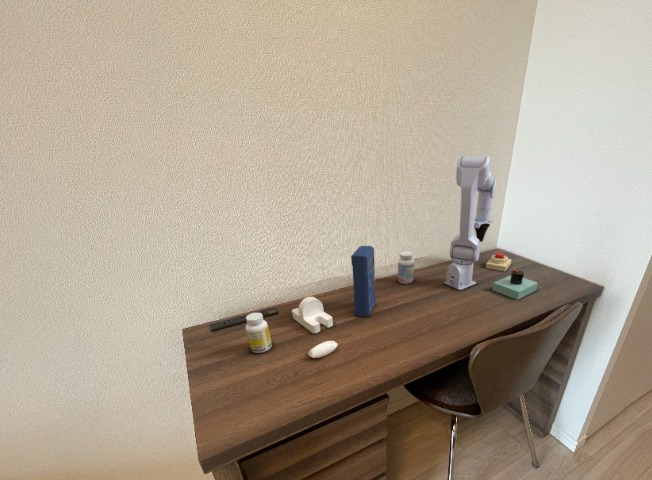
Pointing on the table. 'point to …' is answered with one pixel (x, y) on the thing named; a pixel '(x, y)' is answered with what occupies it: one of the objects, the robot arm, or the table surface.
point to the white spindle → (323, 349)
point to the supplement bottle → (258, 333)
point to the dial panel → (515, 287)
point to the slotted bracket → (312, 315)
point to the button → (499, 255)
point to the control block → (498, 263)
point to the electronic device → (363, 280)
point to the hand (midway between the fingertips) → (479, 241)
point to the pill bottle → (405, 268)
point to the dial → (516, 277)
